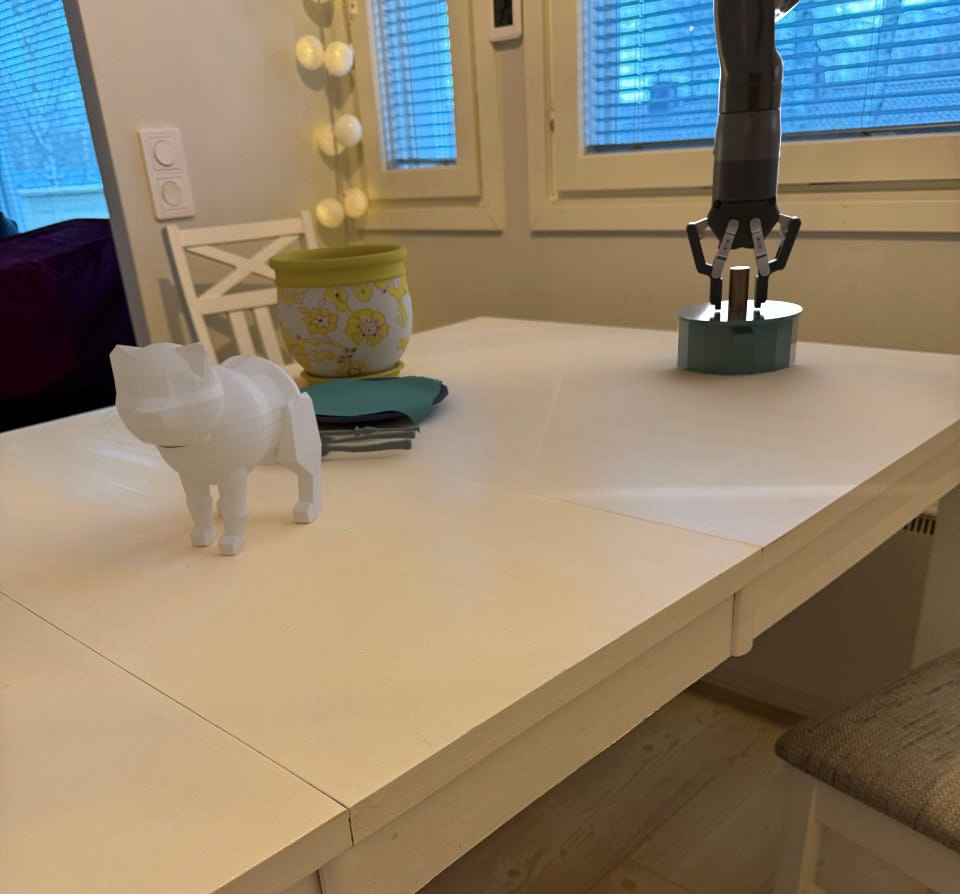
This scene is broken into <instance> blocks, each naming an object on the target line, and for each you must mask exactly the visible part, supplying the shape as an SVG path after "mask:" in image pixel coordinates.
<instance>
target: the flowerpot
mask: <svg viewBox="0 0 960 894" xmlns="http://www.w3.org/2000/svg"><path fill="white" fill-rule="evenodd" d="M407 256H408V249H407V247H406V246H404V245H400V244H393V243H391V244H389V243H388V244H387V243H386V244H385V243H382V244H381V243H379V244H378V243H377V244H376V243H375V244H373V243H372V244H353V245H351V244H350V245H338V246H329V247H319V248H318V247H317V248H311V249H310V248H309V249H303V250H302V249H301V250H297V251H295V250H294V251H290V252H284V253H281V254H276V255H273V256H271V257H270V258H269V259H268V266H269V268H270V269H271V270H273V272H274V277H275V279H274V281H273V283H274V285H275V286H276V309H277V310H276V311H277V318H278V319H277V320H278V325H279V329H280V330H279V331H280V334H281V337H282V339H283V342H284V345H285V346H286V348H287V350H288V352H289V354H290V355H291V357H292V358H293V359H294V360H295V361H296V363H297V364H298V365H299V366H300V367H301V368H303V370H302V371H301V372H300V374H299V376H300V377H301V378H302V379H303V380H305V381H306V382H307V384H308V385H309V386H312V385H315V384H320V383H324V382H328V381H334V380H340V379H350V380H357V379H369V378H385V377H400V373H401V371H402V370H403V369H404V368H405V365H406V364H405V362H404V361H402V360H401V358H402V357H403V356H404V354H405V352H406V350H407V348H408V345H409V343H410V339H411V336H412V331H413V307H412V299H411V294H410V290H409V285H408V282H407V277H406V274H407V272H408V271H407V268H406V267H405V262H404V259H406V257H407Z"/></svg>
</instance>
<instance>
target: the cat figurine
mask: <svg viewBox="0 0 960 894" xmlns="http://www.w3.org/2000/svg"><path fill="white" fill-rule="evenodd" d="M109 360H110V365H111V369H112V374H113V375H112V376H113V379H114V386H115V392H116V395H115V403H114V404H115V406H116V411H117V413H118V415H116V414H115V415H113V416H112V417H111V418H110V419H108V420H107V421H106V422H104V423H103V424H102V425H100V426H99V428H101V427H102V426H104V425H105V424H106V423H107V422H109V421H110V420H112V419H113V418H115V417H119V418H118V419H117V420H116V421H115V422H114V423H113V424H112V425H111V426H110V427H109V428H108V429H107V430H106V431H105V433H107V432H108V431H109V430H111V428H112V427H114V425H115V424H116V423H117V422H119V420H120V419H121V422H122V423H123V425H124V426H125V428H126V429H127V430H128V431H129V432H130V434H131V435H133V436H134V437H135V438H136V439H138V440H139V441H140V442H142V443H145V444H149V445H153V446H155V447H156V449H157V451H158V452H159V454H160V457H161V458H162V459H163V460H164V461H165V463H166V464H167V465H168V466H169V467H170V468H171V469H172V470H174V471H175V472H176V473H177V474H178V476H179V479H180V482H181V485H182V488H183V490H184V494H185V496H186V506H187V508H188V511H189V513H190V516H191V518H192V521H193V523H194V525H195V526H193V527H192V529H191V531H190V532H189V538H190V543H191V546H194V547H207V546H208V545H210V544H211V543H212V541H213V539H214V538H215V537H216V536H217V531H216V526H215V523H214V498H213V497H212V494H211V490H210V485H212V486H213V485H217V490H218V496H219V498H218V500H217V501H216V503H215V504H216V505H215V506H216V509H217V514H218V516H221V521H222V526H223V529H224V533H223V534H221V535H220V536H219V539H218V542H217V547H218V551H219V555H220V556H236V555H237V554H239V553H240V551H241V550H242V548H243V547H244V545H245V543H246V540H245V534H244V531H245V527H246V523H247V518H248V514H249V510H248V507H247V493H248V492H247V490H248V475H250V474H251V473H252V472H253V471H254V470H255V469H256V468H257V467H259V466H262V467H269V466H271V465H275V464H276V465H277V463H278V464H280V465H281V466H283V467H285V468H286V469H288V470H289V471H290V472H292V473H294V474H295V475H297V486H298V487H297V488H298V489H297V490H298V491H297V492H298V502H296V503H294V506H293V508H292V511H291V512H292V517H293V522H294V523H297V524H298V523H299V524H300V523H302V524H310V523H311V522H313V521H314V519H315V518H316V517H317V516H318V515H319V513H320V512H321V509H322V507H323V501H322V499H323V498H322V497H323V496H322V495H323V493H322V457H321V447H322V444H321V440H320V435H319V431H320V430H319V426H318V421H316V417H315V412H314V407H313V403H312V399H311V398H310V396H309V395H308V394H307V392H304V393H302V394H301V393H300V389H299V387H298V384H297V383H296V382H295V381H294V379H293V377H292V376H291V374H289V373H288V372H287V371H286V370H284V368H283V367H281V366H280V365H278V364H277V363H275V362H274V361H272V360H269V359H267V358H264V357H262V356H256V355H250V354H240V355H239V354H238V355H232V356H231V357H228V358H226V359H225V360H224V361H222V362H221V363H219V364H216V365H215V364H212V360H211V356H210V351H209V349H208V348H207V347H206V346H205V345H204V344H203V343H202V342H200V341H196V342H192V343H189V344H185V345H183V344H179V343H173V342H158V343H151V344H148V345H147V346H144V347H142V346H141V347H140V346H132V345H124V344H116V345H115V347H114V348H113V349H112V350H111V352H110V353H109ZM110 413H111V411H109V412H108V413H107V414H105V415H104V416H103V417H102V418H100V419H99V420H98V422H100V421H101V420H102V419H104V418H105V417H107V415H109V414H110Z"/></svg>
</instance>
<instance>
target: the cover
mask: <svg viewBox="0 0 960 894" xmlns="http://www.w3.org/2000/svg"><path fill="white" fill-rule="evenodd" d="M750 272H751V267H750V266H733V267H730V268H729V275H728V277H729V279H728V280H729V281H728V295H727V296H728V297H727V300H722V302H721V310H715V308H714V305H711V303H710V301H708V302H701V303H695V304H690V305H685V306H683V307H680V308H677V309H676V310H674V313H673V315H674V319H676V320H677V321H678V320H680V321H683V322H687V323H693V324H702V325H754V324H765V323H774V322H780V321H785V320H790V319H793V318H796V317H798V316H799V317H800V316H802V314H803V307H802V306H801V305H798V304H795V303H791V302H786V301H778V300H766V302H765V303H761V308H756V309H755V308H754V299H749V290H750V289H749V288H750V277H751V276H750V274H751V273H750Z"/></svg>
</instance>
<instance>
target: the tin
mask: <svg viewBox="0 0 960 894" xmlns="http://www.w3.org/2000/svg"><path fill="white" fill-rule="evenodd" d="M799 321H800V316H798V317H796V318H793V319H790V320H785V321H780V322H774V323H765V324H754V325H702V324H693V323H687V322H683V321H680V320H677V331H676V332H677V333H676V334H677V335H676V370H677V369H678V371H679V370H683V371H686V372H691V373H697V374H703V375H715V376H716V375H717V376H745V375H747V376H748V375H750V376H751V375H758V374H766V373H774V372H777V371H781V370H784V369H789V368H790V367H793V366H794V364H795V363H796V355H797V342H798V330H799Z"/></svg>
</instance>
